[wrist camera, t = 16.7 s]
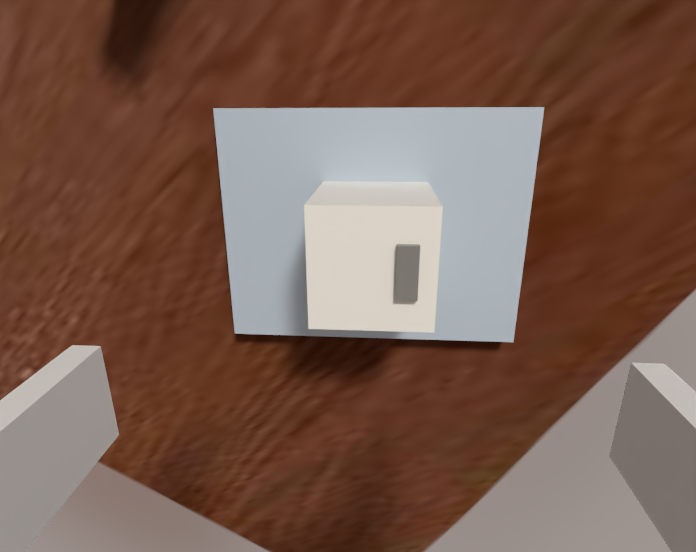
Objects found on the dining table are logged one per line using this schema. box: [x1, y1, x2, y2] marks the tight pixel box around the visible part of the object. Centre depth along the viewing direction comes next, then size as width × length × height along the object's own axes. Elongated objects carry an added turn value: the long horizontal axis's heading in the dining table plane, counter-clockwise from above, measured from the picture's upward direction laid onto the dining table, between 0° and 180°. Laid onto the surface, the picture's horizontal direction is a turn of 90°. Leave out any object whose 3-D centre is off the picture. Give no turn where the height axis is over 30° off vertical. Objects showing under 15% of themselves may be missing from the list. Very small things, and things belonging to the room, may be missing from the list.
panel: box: [213, 107, 544, 342], centre depth 26 cm, size 18×14×6 cm
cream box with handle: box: [304, 181, 443, 333], centre depth 24 cm, size 6×6×7 cm
